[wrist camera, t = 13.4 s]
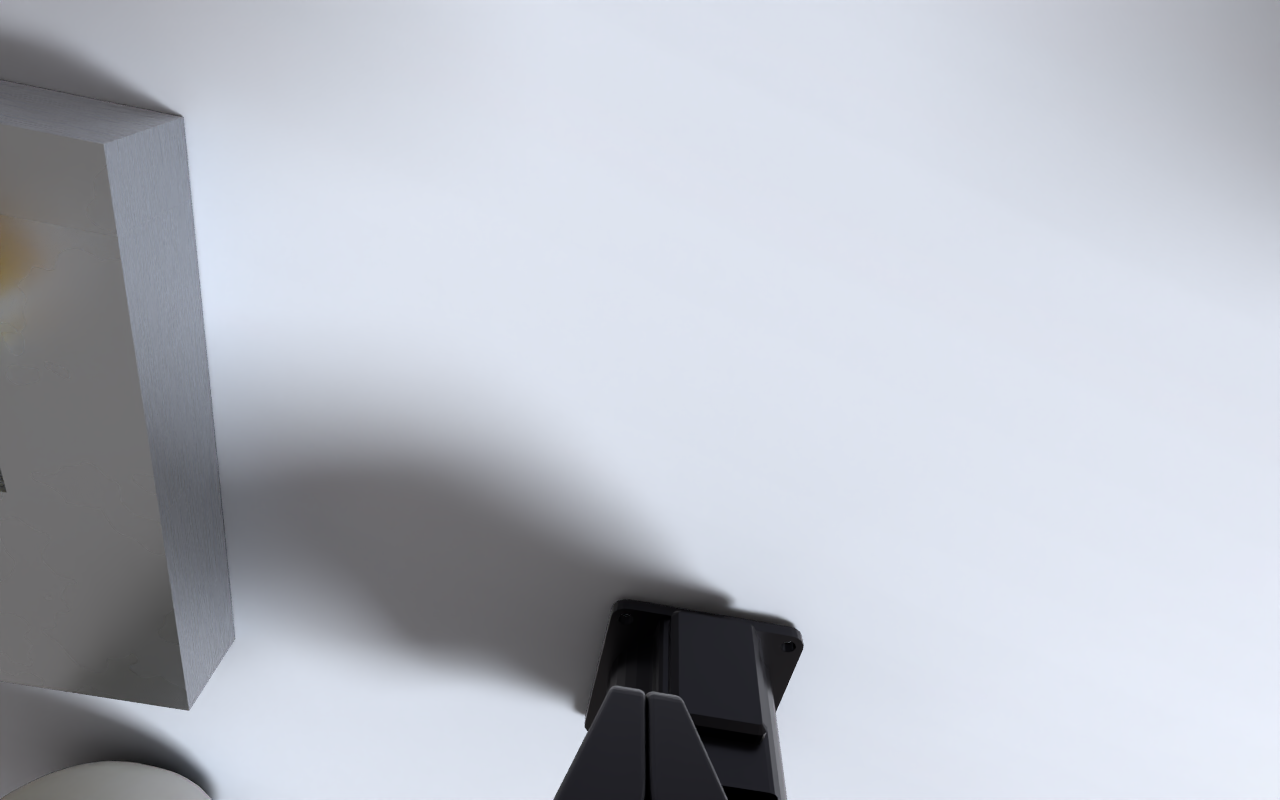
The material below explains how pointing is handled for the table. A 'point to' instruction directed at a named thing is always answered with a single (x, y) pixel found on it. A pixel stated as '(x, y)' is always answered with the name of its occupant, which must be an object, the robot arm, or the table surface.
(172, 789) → the gray bottle
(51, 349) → the jig block
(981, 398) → the table surface
